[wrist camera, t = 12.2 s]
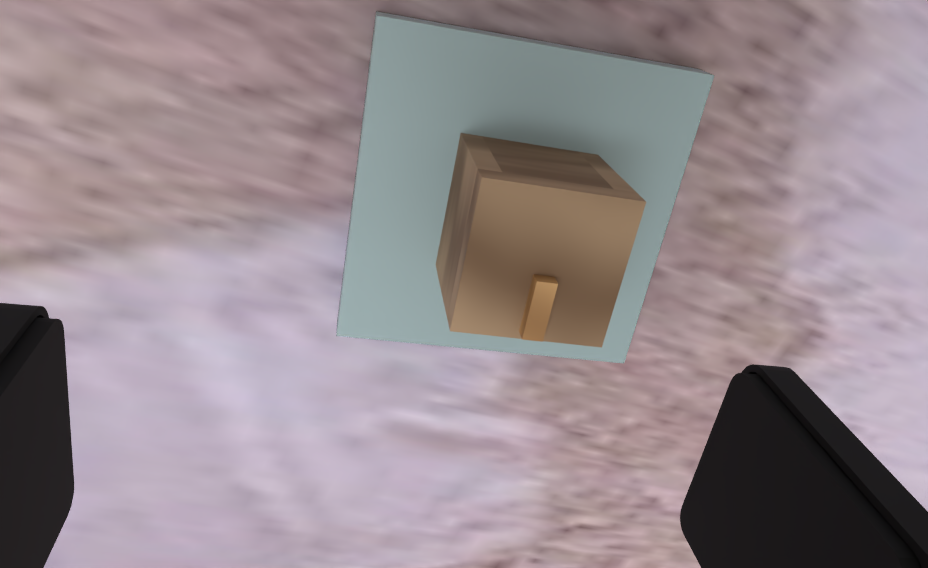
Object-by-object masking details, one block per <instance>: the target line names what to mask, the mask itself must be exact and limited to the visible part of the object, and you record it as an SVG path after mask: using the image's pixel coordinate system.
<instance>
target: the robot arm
mask: <svg viewBox="0 0 928 568" xmlns="http://www.w3.org/2000/svg"><path fill="white" fill-rule="evenodd" d="M73 493H74V475H73V460H72V445H71V430H70V415H69V400H68V385H67V369H66V354H65V339H64V328H63V324H62V321H61V320H60V319H50V318H49V316H48V313H47V311H46V309H45V308H44V307H43V306H31V305H18V304H6V303H0V568H43V567H44V565H45V563H46V561H47V559H48V557H49V554H50V552H51V550H52V548H53V546H54V544H55V542H56V539H57V537H58V535H59V533H60V531H61V529H62V527H63V524H64V522H65V520H66V518H67V516H68V513H69V511H70V508H71V504H72V499H73ZM680 522H681V528H682V531H683V534H684V536H685V538H686V540H687V541H688V543H689V545H690V547H691V549H692V551H693V553H694V555H695V557H696V558H697V560H698V562H699V564H700V566H701V568H928V512H927V511H926V509H925V508H924V507H923V506H922V505H921V504H920V503H919V502H918V501H917V500H916V499H915V498H914V497H913V496H912V495H911V494H910V493H909V492H908V491H907V490H906V488H905V487H904V486H903V485H902V484H901V483H900V482H899V481H898V480H897V479H896V478H895V477H894V476H893V475H892V474H891V473H890V472H889V471H888V470H887V469H886V468H885V466H884V465H883V464H882V463H881V462H880V461H879V460H878V459H877V458H876V457H875V456H874V455H873V454H872V453H871V452H870V451H869V450H868V449H867V448H866V447H865V445H864V444H863V443H862V442H861V441H860V440H859V439H858V438H857V437H856V436H855V435H854V434H853V433H852V432H851V431H850V430H849V429H848V428H847V427H846V426H845V425H844V423H843V422H842V421H841V420H840V419H839V418H838V417H837V416H836V415H835V414H834V413H833V412H832V411H831V410H830V409H829V408H828V407H827V406H826V405H825V404H824V402H823V401H822V400H821V399H820V398H819V397H818V396H817V395H816V394H815V393H814V392H813V391H812V390H811V389H810V388H809V387H808V386H807V385H806V384H805V383H804V382H803V380H802V379H801V378H800V377H799V376H798V375H797V374H796V373H795V372H794V371H793V370H791V369H790V368H786V367H777V366H765V365H749V366H747V367H746V368H745V369H744V370H743V371H742V373H738V374H736V375H735V376H734V377H733V378H732V380H731V382H730V384H729V387H728V390H727V392H726V395H725V397H724V400H723V402H722V405H721V408H720V410H719V413H718V415H717V418H716V420H715V423H714V426H713V428H712V431H711V433H710V436H709V438H708V441H707V444H706V446H705V449H704V451H703V454H702V456H701V459H700V462H699V464H698V467H697V469H696V472H695V474H694V477H693V480H692V482H691V485H690V487H689V490H688V492H687V495H686V498H685V500H684V503H683V505H682V509H681V514H680Z"/></svg>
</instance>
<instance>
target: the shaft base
mask: <svg viewBox="0 0 928 568" xmlns="http://www.w3.org/2000/svg"><path fill="white" fill-rule="evenodd" d="M713 78H714V75H712V74H710V73H707V72H705V71H703V70H700V69H696V68H690V67H685V66H679V65H673V64H668V63H662V62H657V61H651V60H646V59H640V58H634V57H629V56H623V55H618V54H612V53H606V52H601V51H595V50H590V49H584V48H578V47H573V46H567V45H562V44H556V43H550V42H545V41H539V40H534V39H528V38H522V37H517V36H511V35H506V34H500V33H494V32H489V31H483V30H478V29H472V28H466V27H461V26H455V25H450V24H444V23H439V22H433V21H427V20H422V19H416V18H411V17H405V16H399V15H394V14H388V13H383V12H377V11H376V16H375V24H374V32H373V40H372V48H371V56H370V64H369V72H368V80H367V88H366V96H365V104H364V112H363V120H362V128H361V136H360V144H359V152H358V160H357V168H356V176H355V184H354V192H353V200H352V208H351V216H350V224H349V232H348V240H347V248H346V256H345V264H344V272H343V280H342V288H341V296H340V304H339V312H338V320H337V336H343V337H353V338H364V339H374V340H385V341H395V342H406V343H416V344H427V345H437V346H448V347H458V348H469V349H479V350H489V351H500V352H510V353H521V354H531V355H542V356H552V357H563V358H573V359H584V360H594V361H605V362H615V363H624V362H625V359H626V355H627V352H628V349H629V346H630V343H631V339H632V336H633V333H634V330H635V327H636V324H637V320H638V317H639V314H640V311H641V308H642V304H643V301H644V298H645V295H646V292H647V288H648V285H649V282H650V279H651V276H652V273H653V269H654V266H655V263H656V260H657V257H658V253H659V250H660V247H661V244H662V241H663V238H664V234H665V231H666V228H667V225H668V222H669V218H670V215H671V212H672V209H673V206H674V202H675V199H676V196H677V193H678V190H679V187H680V183H681V180H682V177H683V174H684V171H685V167H686V164H687V161H688V158H689V155H690V151H691V148H692V145H693V142H694V139H695V136H696V132H697V129H698V126H699V123H700V120H701V116H702V113H703V110H704V107H705V104H706V101H707V97H708V94H709V91H710V88H711V85H712V81H713ZM460 133H465V134H472V135H478V136H484V137H490V138H497V139H503V140H509V141H515V142H522V143H528V144H534V145H540V146H547V147H553V148H559V149H565V150H572V151H578V152H584V153H590V154H597V155H599V156H600V157H601V158H602V159H603V160H604V161H605V162H606V163H607V164H608V165H609V166H610V167H611V168H612V169H613V170H614V171H615V172H616V173H617V174H618V175H619V176H620V177H621V178H622V179H624V180H625V181H626V182H627V183H628V184H629V185H630V186H631V187H632V188H633V189H634V190H635V191H636V192H637V193H638V194H639V195H640V196H641V197H642V198H643V199H644V200H645V201H646V205H645V208H644V211H643V215H642V218H641V221H640V224H639V228H638V231H637V234H636V237H635V241H634V244H633V247H632V251H631V254H630V257H629V260H628V264H627V267H626V270H625V273H624V277H623V280H622V283H621V286H620V290H619V293H618V296H617V300H616V303H615V306H614V309H613V313H612V316H611V319H610V322H609V326H608V329H607V332H606V335H605V339H604V342H603V345H602V348H601V347H592V346H582V345H573V344H564V343H554V342H545V341H543V342H540V341H531V340H522V339H517V338H508V337H498V336H489V335H480V334H470V333H461V332H452V331H450V329H449V325H448V320H447V315H446V311H445V306H444V302H443V297H442V293H441V288H440V283H439V279H438V274H437V270H436V260H437V255H438V249H439V244H440V239H441V233H442V228H443V223H444V218H445V212H446V207H447V202H448V197H449V191H450V186H451V181H452V176H453V170H454V165H455V160H456V155H457V149H458V144H459V139H460Z"/></svg>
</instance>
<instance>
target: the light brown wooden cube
mask: <svg viewBox="0 0 928 568" xmlns="http://www.w3.org/2000/svg"><path fill="white" fill-rule="evenodd" d="M645 205H646V201H645V200H644V199H643V198H642V197H641V196H640V195H639V194H638V193H637V192H636V191H635V190H634V189H633V188H632V187H631V186H630V185H629V184H628V183H627V182H626V181H625V180H624V179H622V178H621V177H620V176H619V175H618V174H617V173H616V172H615V171H614V170H613V169H612V168H611V167H610V166H609V165H608V164H607V163H606V162H605V161H604V160H603V159H602V158H601V157H600V156H599V155H597V154H590V153H584V152H578V151H572V150H565V149H559V148H553V147H547V146H540V145H534V144H528V143H522V142H515V141H509V140H503V139H497V138H490V137H484V136H478V135H472V134H465V133H460V139H459V144H458V149H457V155H456V160H455V165H454V170H453V176H452V181H451V186H450V191H449V197H448V202H447V207H446V212H445V218H444V223H443V228H442V233H441V239H440V244H439V249H438V255H437V260H436V270H437V274H438V279H439V283H440V288H441V293H442V297H443V302H444V306H445V311H446V315H447V320H448V325H449V329H450V331H452V332H461V333H470V334H480V335H489V336H498V337H508V338H517V339H522V340H531V341H540V342H543V341H545V342H554V343H564V344H573V345H582V346H592V347H601V348H602V345H603V342H604V339H605V335H606V332H607V329H608V326H609V322H610V319H611V316H612V313H613V309H614V306H615V303H616V300H617V296H618V293H619V290H620V286H621V283H622V280H623V277H624V273H625V270H626V267H627V264H628V260H629V257H630V254H631V251H632V247H633V244H634V241H635V237H636V234H637V231H638V228H639V224H640V221H641V218H642V215H643V211H644V208H645Z"/></svg>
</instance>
